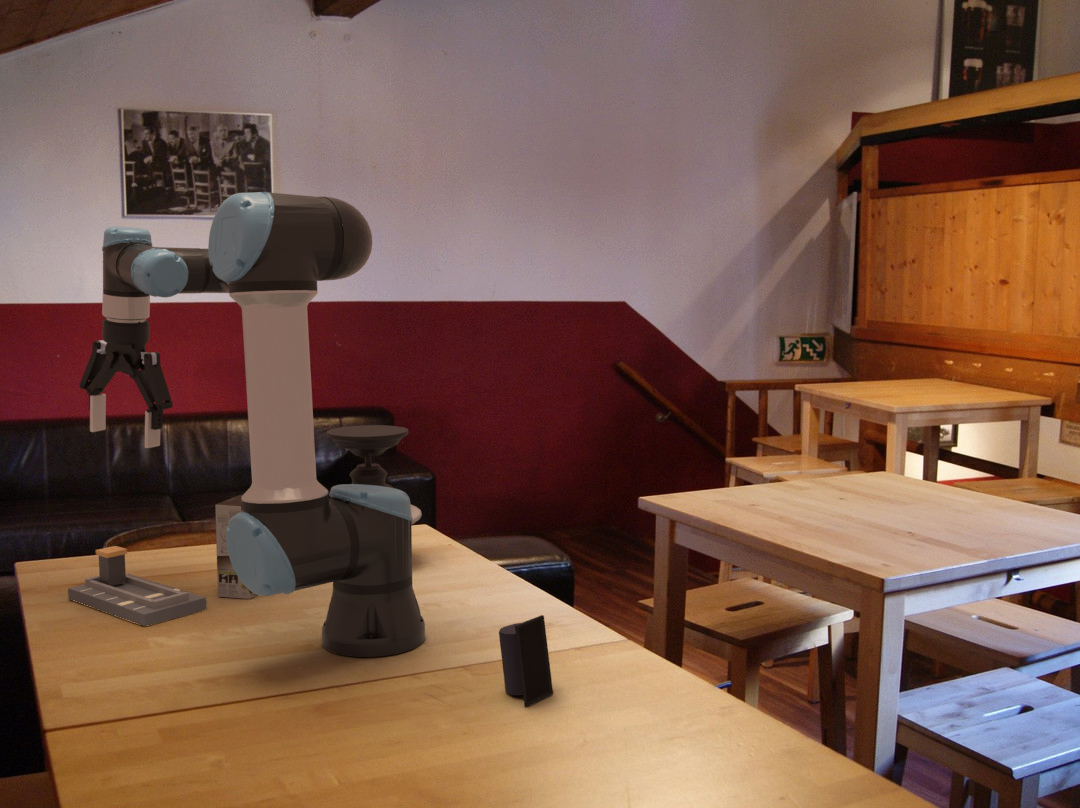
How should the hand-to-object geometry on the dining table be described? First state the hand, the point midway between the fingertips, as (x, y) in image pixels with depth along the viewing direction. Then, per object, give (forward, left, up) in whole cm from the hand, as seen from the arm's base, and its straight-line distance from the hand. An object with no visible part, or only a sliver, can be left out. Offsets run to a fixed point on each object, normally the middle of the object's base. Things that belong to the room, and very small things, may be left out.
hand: (124, 438), depth 183 cm
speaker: (-87, -3, -26) cm, 91 cm away
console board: (-13, +7, -26) cm, 30 cm away
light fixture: (-25, -34, -26) cm, 50 cm away
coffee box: (-21, -9, -26) cm, 35 cm away
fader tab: (-6, +7, -23) cm, 25 cm away
